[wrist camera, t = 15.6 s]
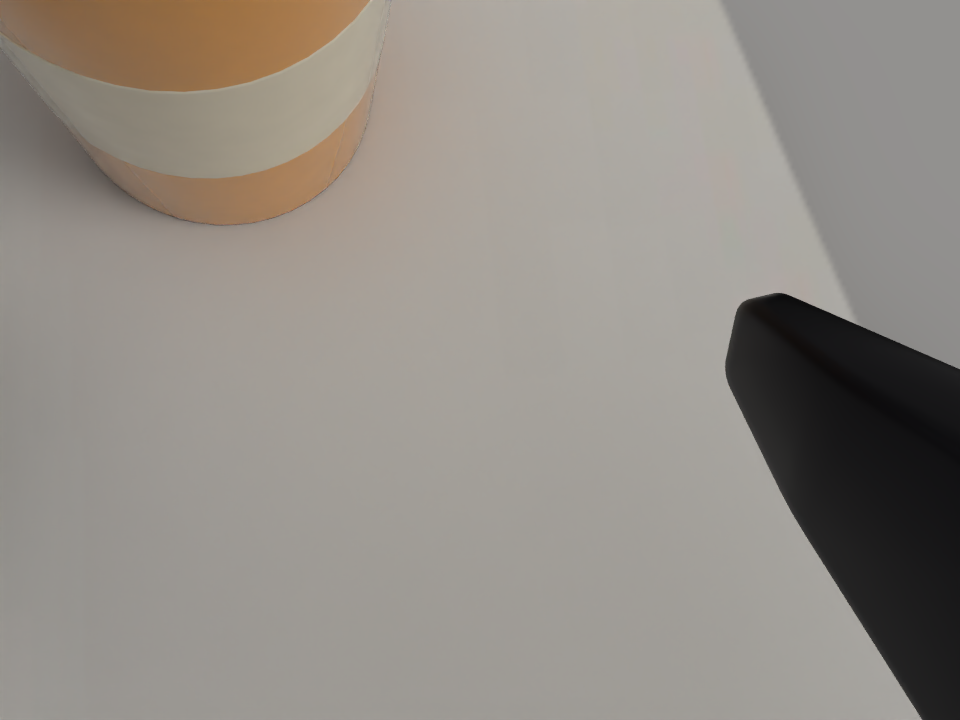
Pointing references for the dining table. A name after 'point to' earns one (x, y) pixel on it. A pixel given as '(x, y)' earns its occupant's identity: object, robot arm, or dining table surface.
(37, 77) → the jar
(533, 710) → the dining table surface
